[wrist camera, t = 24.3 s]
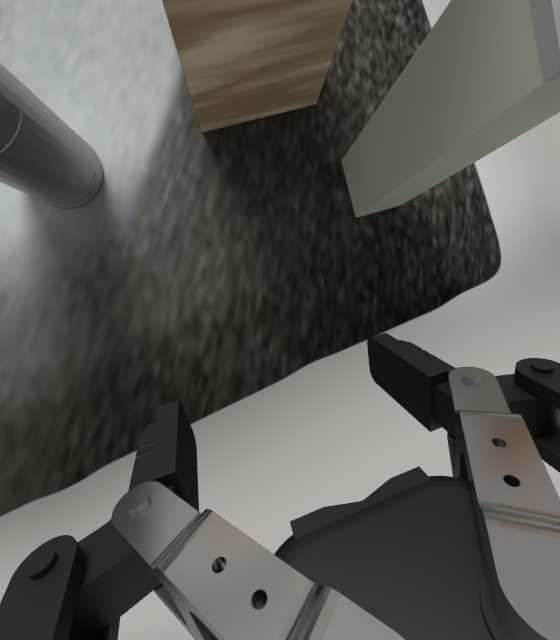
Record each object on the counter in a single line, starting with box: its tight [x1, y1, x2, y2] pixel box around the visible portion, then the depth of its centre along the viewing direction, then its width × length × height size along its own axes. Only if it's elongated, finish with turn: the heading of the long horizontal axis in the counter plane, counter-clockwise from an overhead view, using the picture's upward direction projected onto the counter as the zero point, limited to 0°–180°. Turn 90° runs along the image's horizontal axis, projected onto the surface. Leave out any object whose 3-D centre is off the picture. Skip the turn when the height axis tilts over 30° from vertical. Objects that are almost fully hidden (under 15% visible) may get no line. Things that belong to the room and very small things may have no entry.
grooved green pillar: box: [341, 0, 560, 218], centre depth 29 cm, size 8×7×29 cm
